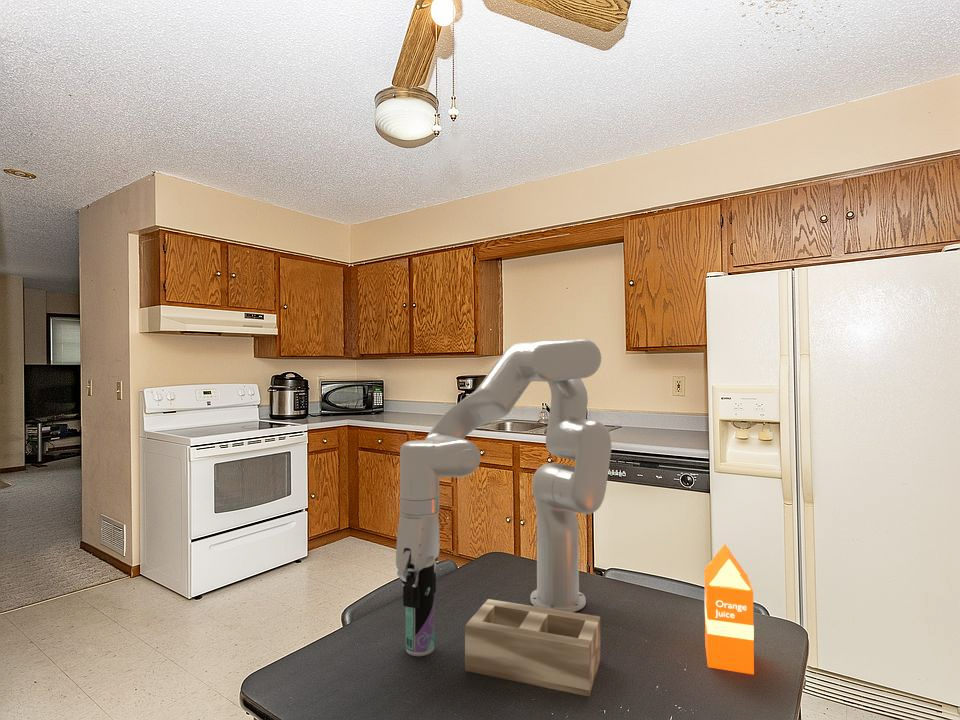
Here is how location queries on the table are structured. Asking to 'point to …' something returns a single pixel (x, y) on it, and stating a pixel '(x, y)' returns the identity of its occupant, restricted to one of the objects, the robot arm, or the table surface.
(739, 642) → the orange juice
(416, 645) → the spray can
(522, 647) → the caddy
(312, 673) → the table surface
